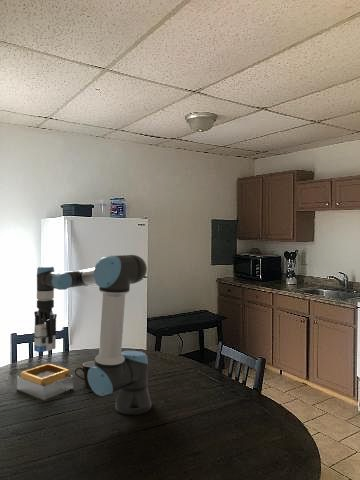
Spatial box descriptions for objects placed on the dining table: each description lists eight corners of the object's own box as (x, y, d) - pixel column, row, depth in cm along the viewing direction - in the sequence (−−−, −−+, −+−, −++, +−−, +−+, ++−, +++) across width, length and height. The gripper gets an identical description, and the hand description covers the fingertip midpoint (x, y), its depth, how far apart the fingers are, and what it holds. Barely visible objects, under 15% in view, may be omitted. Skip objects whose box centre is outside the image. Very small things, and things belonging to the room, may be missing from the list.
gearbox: (73, 388, 186) (73, 370, 186) (43, 400, 173) (43, 380, 172) (41, 377, 199) (41, 360, 199) (12, 387, 186) (12, 369, 186)
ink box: (40, 352, 179) (40, 327, 179) (33, 350, 182) (33, 325, 182) (56, 348, 186) (56, 323, 186) (49, 346, 189) (49, 322, 189)
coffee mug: (103, 381, 195) (103, 361, 195) (97, 388, 186) (98, 367, 186) (80, 380, 196) (80, 360, 196) (73, 387, 187) (74, 366, 187)
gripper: (64, 300, 182) (64, 350, 182) (40, 296, 192) (39, 344, 192) (51, 302, 176) (50, 354, 176) (26, 298, 186) (26, 347, 186)
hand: (45, 349), depth 184 cm, fingers closed on ink box, 5 cm apart
